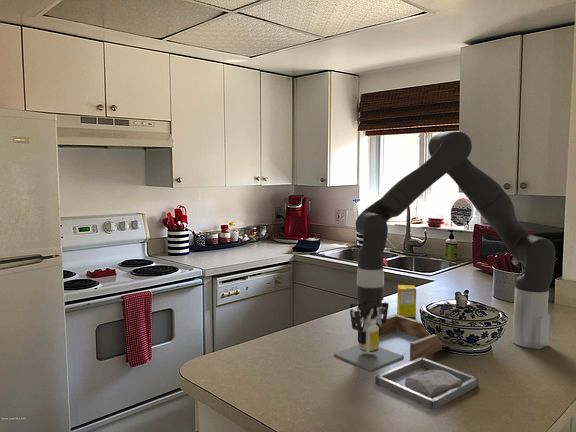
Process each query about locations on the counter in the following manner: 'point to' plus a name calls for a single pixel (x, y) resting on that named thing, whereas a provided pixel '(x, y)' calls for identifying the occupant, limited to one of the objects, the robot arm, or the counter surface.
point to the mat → (368, 357)
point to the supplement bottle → (371, 338)
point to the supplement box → (406, 301)
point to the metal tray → (421, 399)
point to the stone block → (432, 383)
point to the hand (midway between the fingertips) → (369, 340)
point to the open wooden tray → (414, 328)
